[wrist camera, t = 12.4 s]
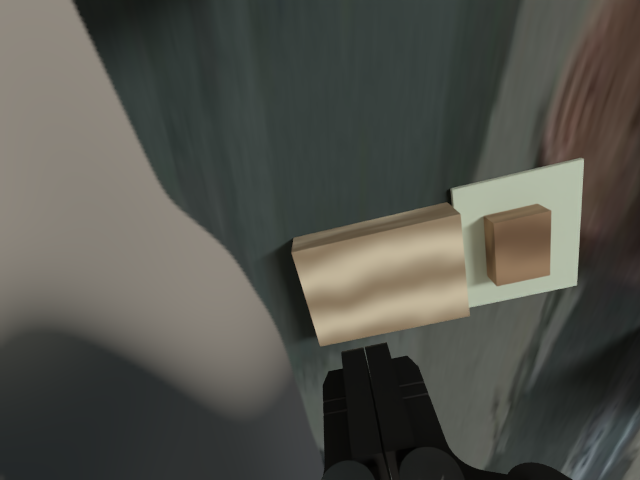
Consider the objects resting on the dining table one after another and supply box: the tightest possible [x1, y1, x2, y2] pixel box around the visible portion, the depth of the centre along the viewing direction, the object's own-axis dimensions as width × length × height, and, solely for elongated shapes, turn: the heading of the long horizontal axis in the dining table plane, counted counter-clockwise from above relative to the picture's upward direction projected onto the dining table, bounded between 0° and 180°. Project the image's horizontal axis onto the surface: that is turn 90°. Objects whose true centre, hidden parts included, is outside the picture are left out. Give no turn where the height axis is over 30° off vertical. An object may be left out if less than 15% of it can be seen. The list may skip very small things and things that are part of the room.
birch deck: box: [291, 202, 470, 346], centre depth 41 cm, size 13×18×4 cm
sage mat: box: [450, 158, 584, 307], centre depth 41 cm, size 16×14×1 cm
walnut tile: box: [483, 204, 551, 286], centre depth 40 cm, size 8×6×2 cm
